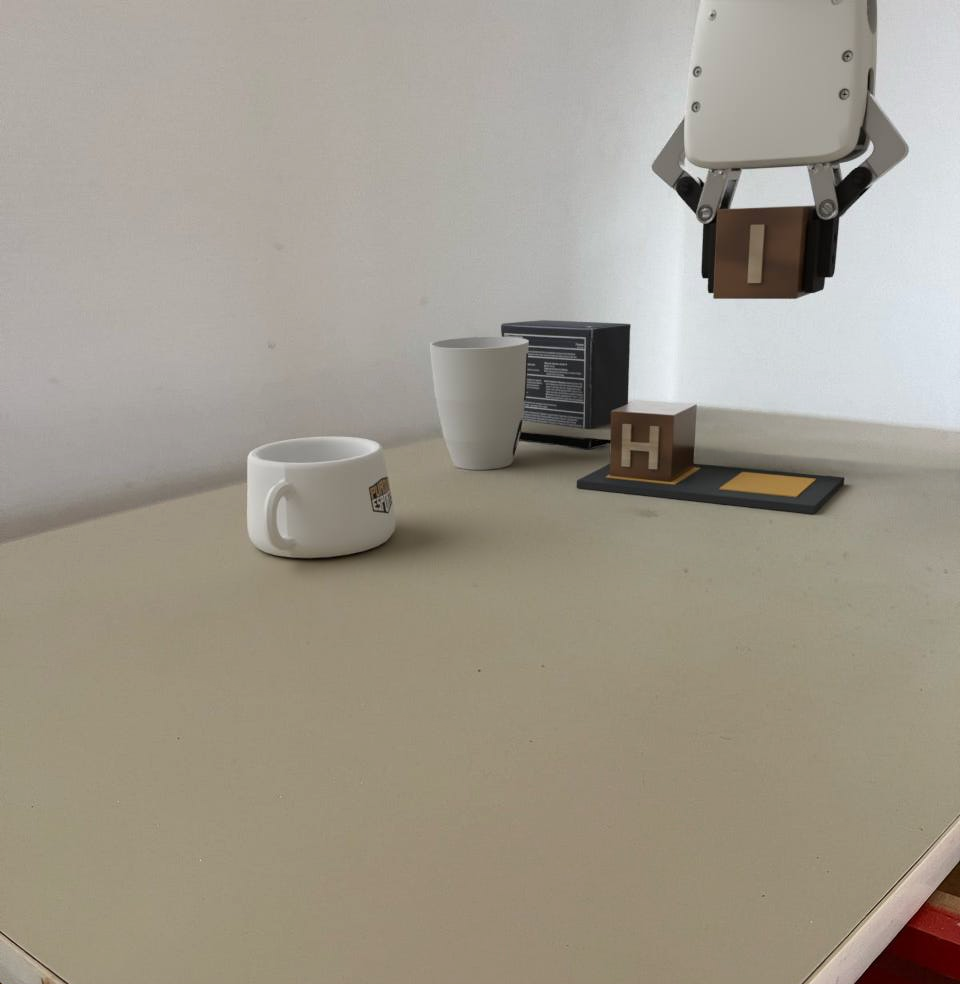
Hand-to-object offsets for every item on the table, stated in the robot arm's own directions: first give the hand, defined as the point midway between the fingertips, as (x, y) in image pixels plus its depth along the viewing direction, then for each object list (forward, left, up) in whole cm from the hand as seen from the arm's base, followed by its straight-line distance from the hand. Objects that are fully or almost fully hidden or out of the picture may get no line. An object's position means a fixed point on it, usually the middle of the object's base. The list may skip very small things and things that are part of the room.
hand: (765, 288), depth 63 cm
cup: (+26, -9, -15) cm, 31 cm away
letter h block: (+10, -9, -14) cm, 20 cm away
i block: (0, 0, 0) cm, 0 cm away
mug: (+24, +16, -15) cm, 33 cm away
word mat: (+6, -9, -15) cm, 18 cm away
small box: (+24, -21, -15) cm, 35 cm away
